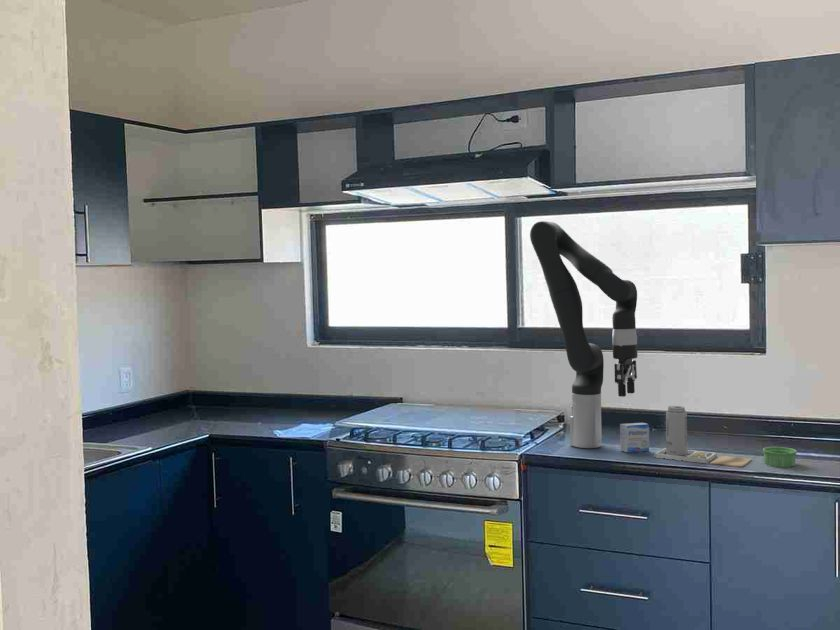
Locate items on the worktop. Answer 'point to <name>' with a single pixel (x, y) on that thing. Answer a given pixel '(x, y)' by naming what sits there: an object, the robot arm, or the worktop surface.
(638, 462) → the worktop surface
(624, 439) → the medicine box
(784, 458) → the ramekin
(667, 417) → the energy drink can
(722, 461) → the cork mat
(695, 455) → the parts tray
